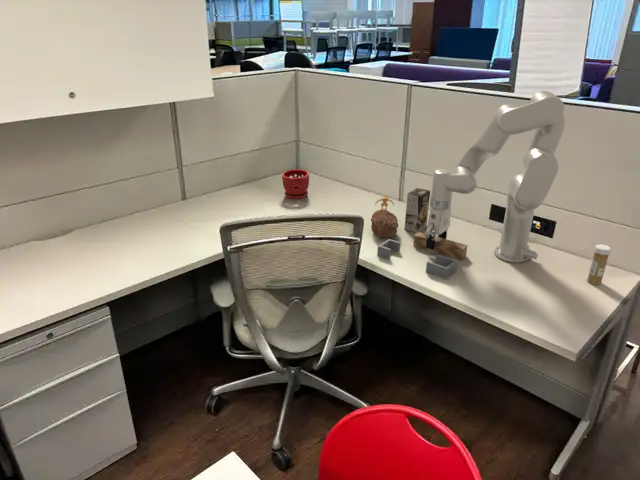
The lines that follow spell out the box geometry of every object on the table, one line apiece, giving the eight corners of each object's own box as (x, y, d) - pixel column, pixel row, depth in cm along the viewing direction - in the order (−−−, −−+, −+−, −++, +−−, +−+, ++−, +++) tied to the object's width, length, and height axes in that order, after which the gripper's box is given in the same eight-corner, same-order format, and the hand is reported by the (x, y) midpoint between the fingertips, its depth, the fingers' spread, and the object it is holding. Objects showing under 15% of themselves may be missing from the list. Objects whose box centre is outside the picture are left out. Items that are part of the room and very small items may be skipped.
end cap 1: (399, 251, 189) (400, 242, 187) (388, 259, 184) (389, 249, 182) (388, 248, 192) (389, 238, 190) (377, 255, 186) (377, 246, 185)
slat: (465, 256, 186) (467, 245, 184) (461, 260, 183) (463, 248, 181) (417, 243, 197) (419, 231, 194) (413, 246, 194) (414, 235, 192)
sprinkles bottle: (602, 286, 165) (612, 250, 160) (586, 283, 167) (596, 248, 161) (600, 280, 169) (610, 245, 163) (585, 277, 171) (595, 242, 165)
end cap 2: (456, 270, 176) (457, 260, 174) (446, 279, 170) (447, 269, 168) (436, 263, 180) (437, 254, 179) (425, 272, 175) (426, 262, 173)
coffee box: (417, 232, 205) (421, 196, 198) (403, 229, 208) (406, 193, 201) (427, 225, 211) (431, 190, 204) (414, 222, 215) (417, 187, 208)
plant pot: (282, 192, 249) (281, 169, 244) (308, 191, 251) (307, 168, 245) (283, 201, 238) (282, 178, 232) (310, 200, 239) (310, 176, 234)
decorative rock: (367, 228, 209) (368, 206, 205) (393, 226, 210) (395, 205, 206) (373, 241, 198) (374, 218, 193) (401, 240, 198) (402, 217, 194)
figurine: (392, 217, 219) (394, 192, 214) (393, 223, 214) (395, 197, 209) (373, 217, 220) (375, 191, 215) (374, 222, 214) (375, 196, 209)
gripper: (439, 212, 174) (434, 255, 181) (460, 198, 186) (455, 239, 193) (420, 207, 178) (416, 249, 185) (442, 194, 190) (437, 234, 197)
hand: (436, 244), depth 189 cm, fingers open, 9 cm apart
